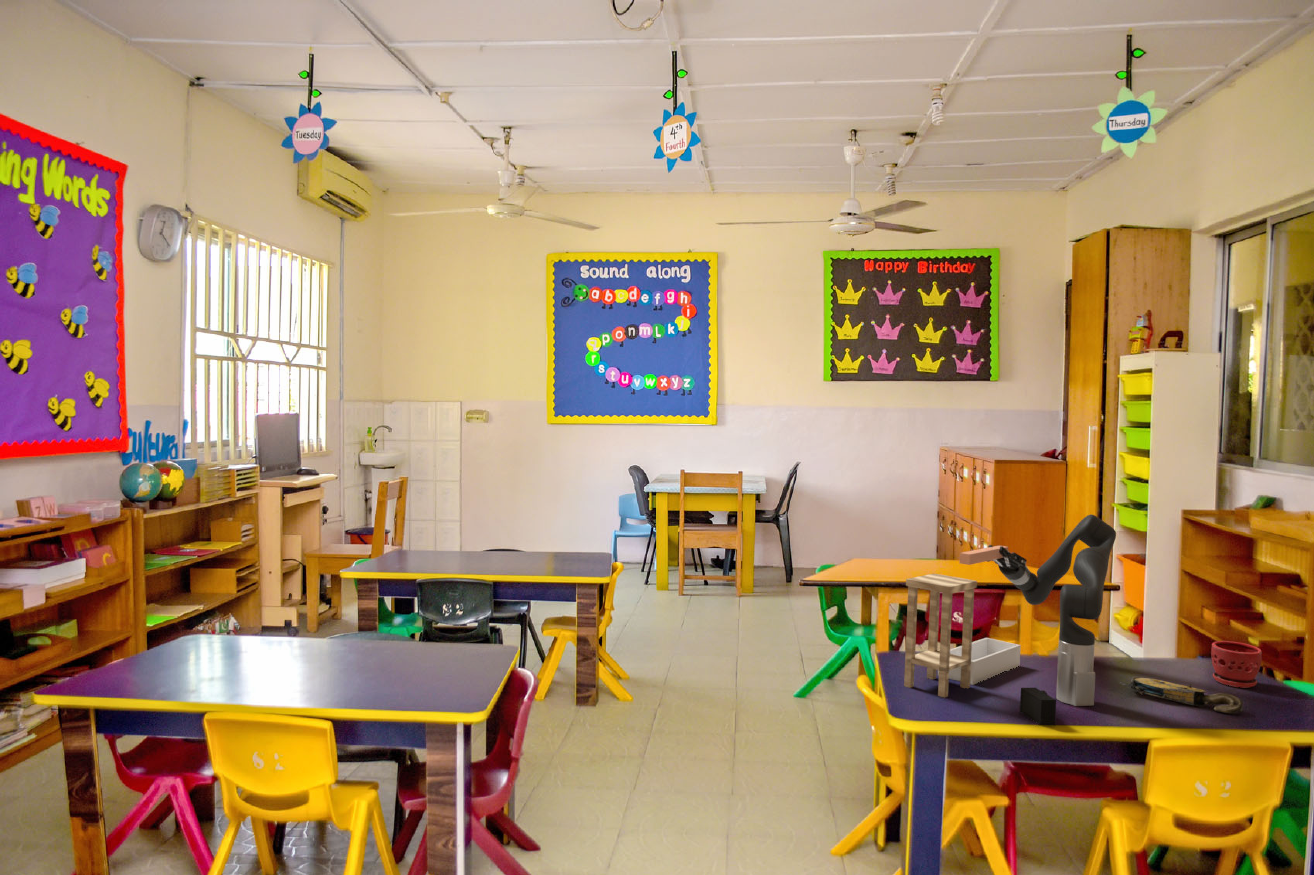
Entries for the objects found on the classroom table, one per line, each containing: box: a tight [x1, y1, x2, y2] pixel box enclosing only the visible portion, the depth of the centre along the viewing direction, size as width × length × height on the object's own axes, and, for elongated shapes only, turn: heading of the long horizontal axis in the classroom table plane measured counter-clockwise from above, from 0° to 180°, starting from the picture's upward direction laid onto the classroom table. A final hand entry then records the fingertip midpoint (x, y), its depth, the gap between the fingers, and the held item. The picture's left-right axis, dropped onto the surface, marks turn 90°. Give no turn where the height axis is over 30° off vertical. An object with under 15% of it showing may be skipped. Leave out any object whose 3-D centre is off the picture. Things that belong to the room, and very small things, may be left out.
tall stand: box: [903, 573, 978, 698], centre depth 261 cm, size 16×14×32 cm
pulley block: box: [1119, 677, 1244, 715], centre depth 255 cm, size 14×6×30 cm
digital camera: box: [1019, 687, 1057, 726], centre depth 236 cm, size 10×5×7 cm, turn 6°
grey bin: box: [936, 637, 1021, 686], centre depth 279 cm, size 32×12×7 cm, turn 133°
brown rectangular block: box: [958, 545, 1009, 566], centre depth 278 cm, size 26×3×3 cm, turn 133°
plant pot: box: [1210, 640, 1263, 689], centre depth 274 cm, size 13×13×12 cm
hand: (995, 548), depth 283 cm, fingers closed on brown rectangular block, 3 cm apart
